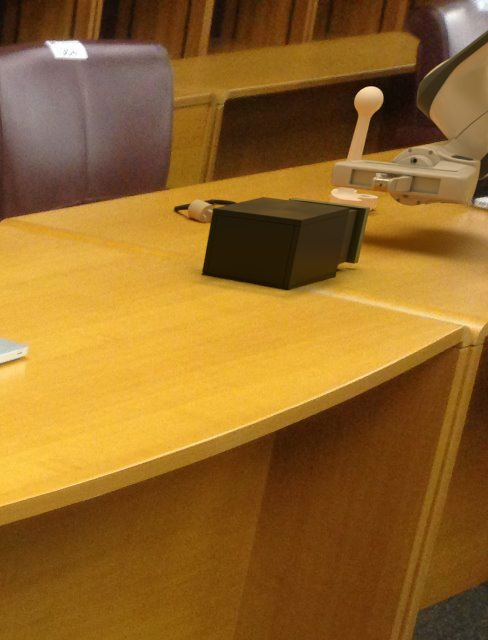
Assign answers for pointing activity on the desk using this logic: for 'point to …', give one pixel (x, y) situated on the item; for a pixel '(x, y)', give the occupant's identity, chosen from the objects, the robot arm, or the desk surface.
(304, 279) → the cabinet
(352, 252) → the drawer
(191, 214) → the cable
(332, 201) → the joystick
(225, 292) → the desk surface
